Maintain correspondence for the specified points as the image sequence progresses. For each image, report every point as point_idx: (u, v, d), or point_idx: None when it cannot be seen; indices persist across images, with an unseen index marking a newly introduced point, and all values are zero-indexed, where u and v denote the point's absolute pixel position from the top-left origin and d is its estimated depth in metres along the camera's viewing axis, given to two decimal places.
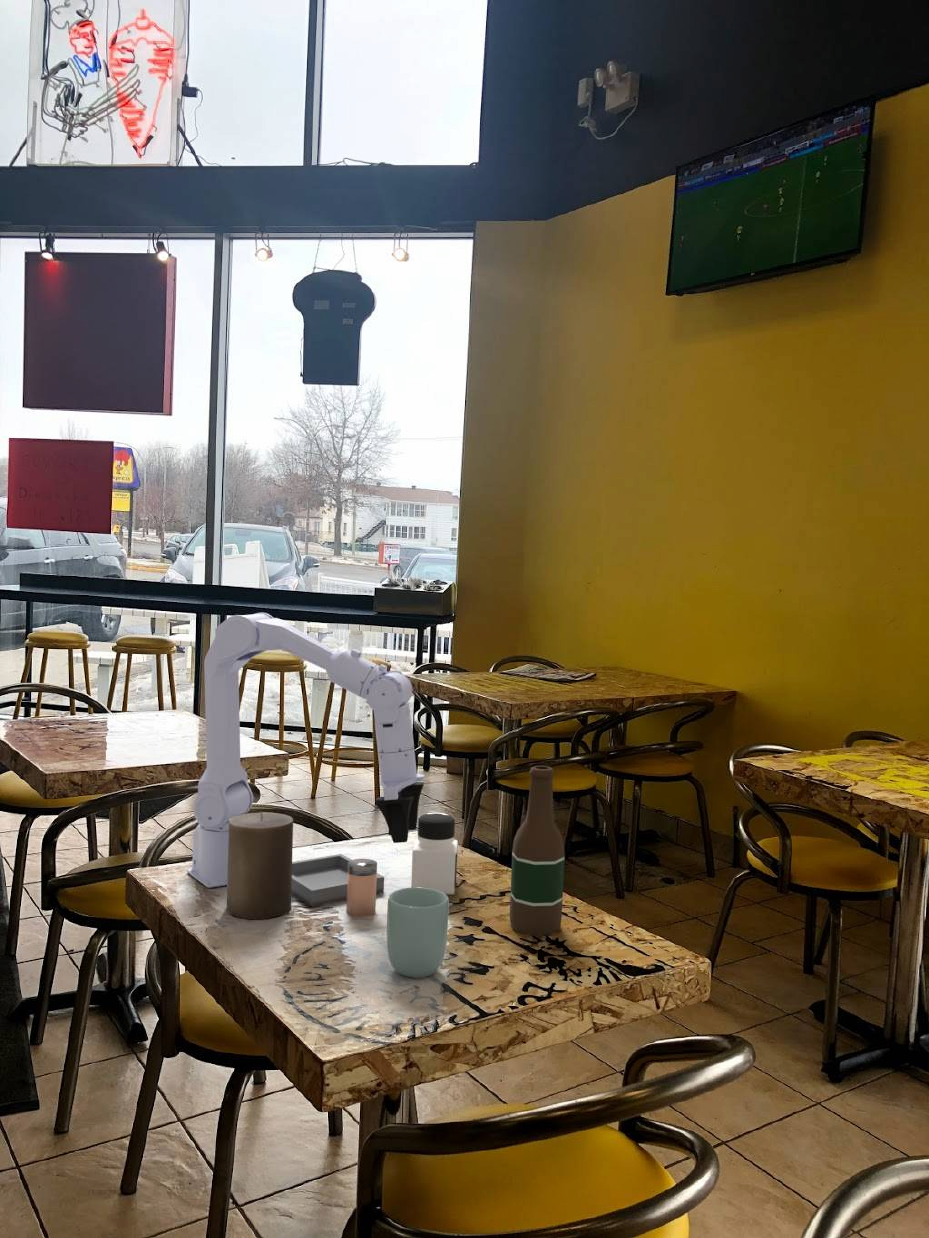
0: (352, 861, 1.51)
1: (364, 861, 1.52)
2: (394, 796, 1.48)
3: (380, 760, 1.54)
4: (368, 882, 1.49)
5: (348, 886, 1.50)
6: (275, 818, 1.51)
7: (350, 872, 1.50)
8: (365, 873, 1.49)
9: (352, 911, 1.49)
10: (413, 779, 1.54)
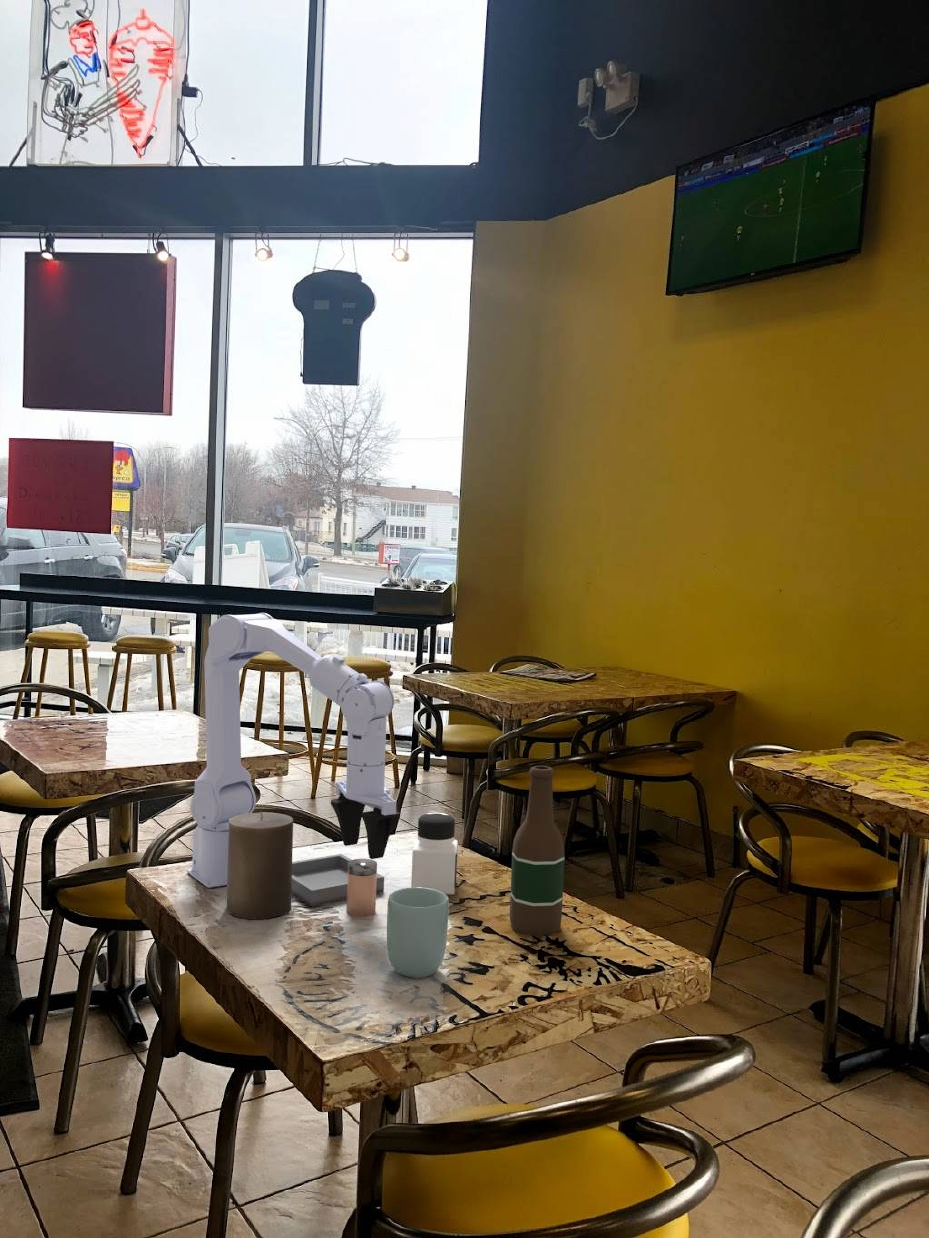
0: (352, 861, 1.51)
1: (364, 861, 1.52)
2: (393, 811, 1.45)
3: (358, 774, 1.47)
4: (368, 882, 1.49)
5: (348, 886, 1.50)
6: (275, 818, 1.51)
7: (350, 872, 1.50)
8: (365, 873, 1.49)
9: (352, 911, 1.49)
10: (385, 792, 1.50)
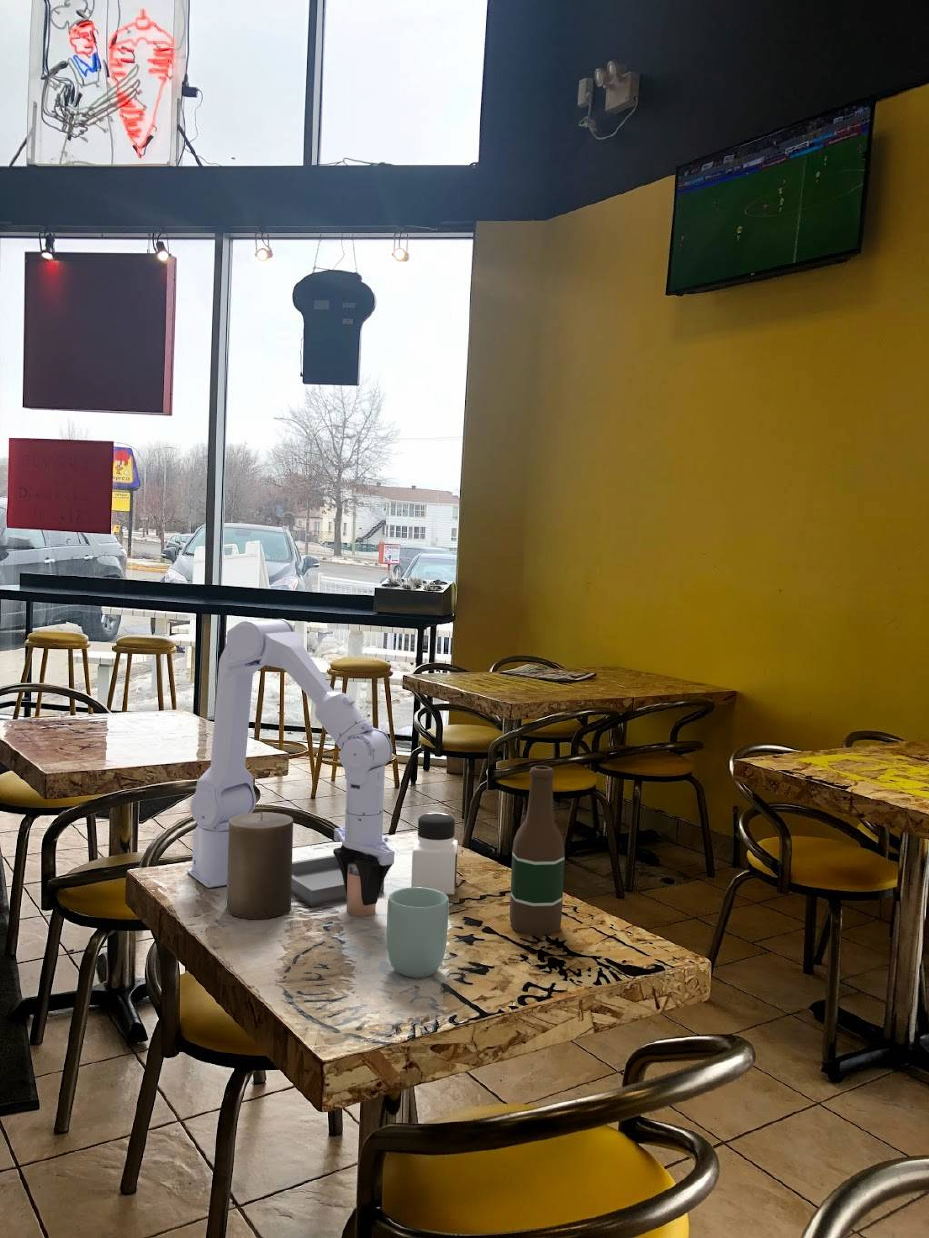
0: (352, 861, 1.51)
1: None
2: (392, 861, 1.45)
3: (357, 823, 1.48)
4: None
5: (348, 886, 1.50)
6: (275, 818, 1.51)
7: (350, 872, 1.50)
8: None
9: (352, 911, 1.49)
10: (383, 840, 1.51)
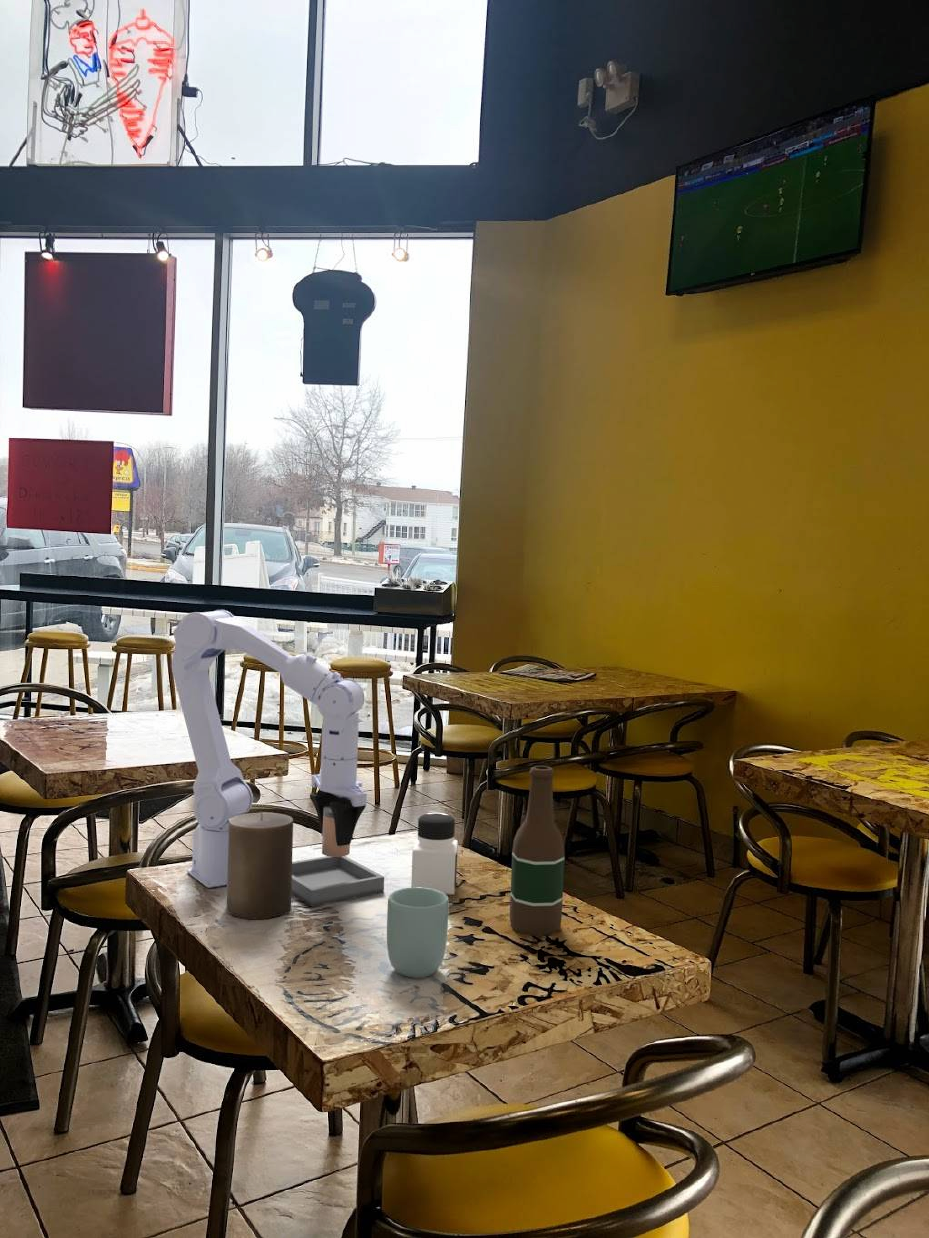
0: (327, 805, 1.59)
1: None
2: (364, 802, 1.53)
3: (331, 767, 1.55)
4: None
5: (323, 828, 1.57)
6: (275, 818, 1.51)
7: (325, 814, 1.57)
8: None
9: (327, 852, 1.57)
10: None
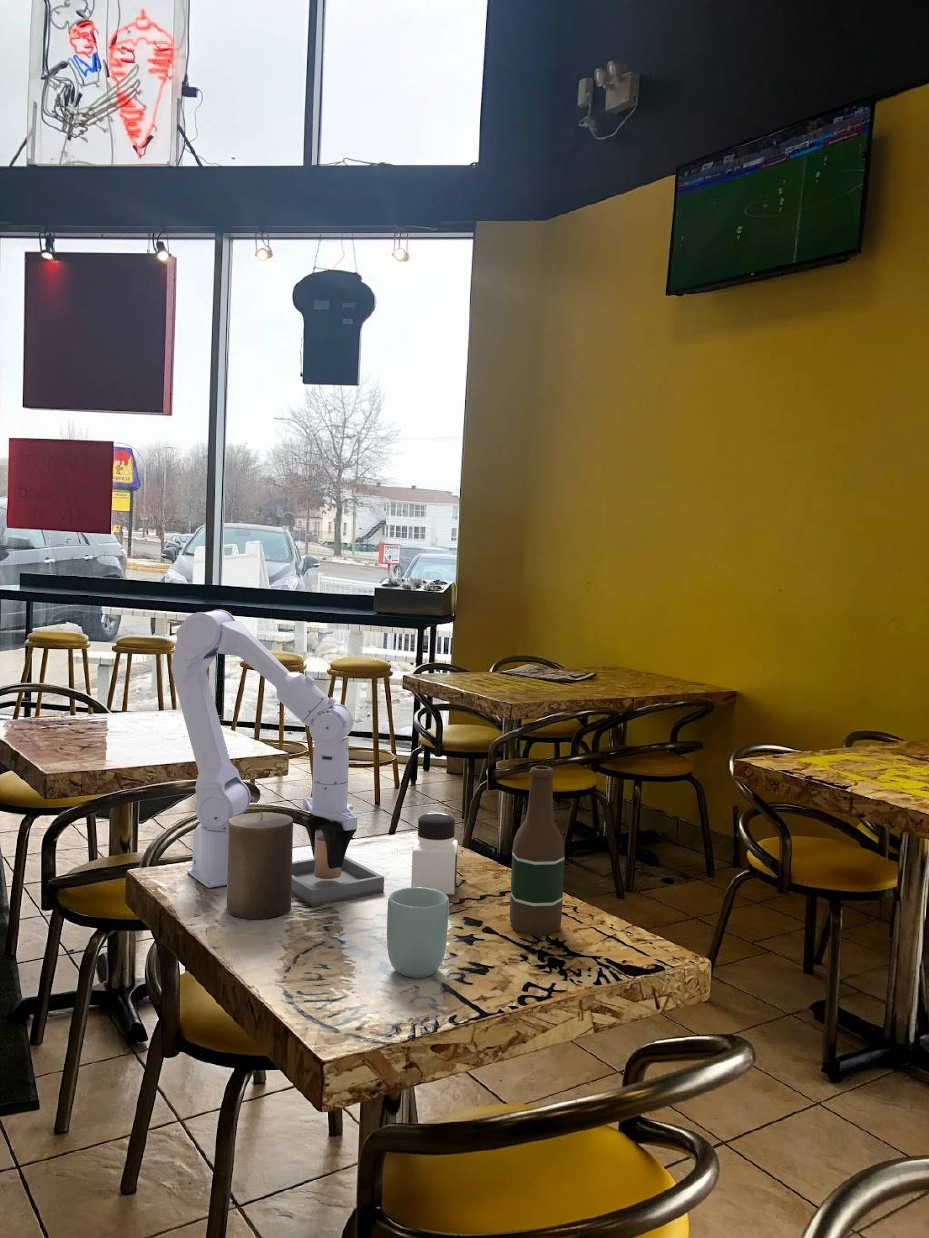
0: (319, 828, 1.62)
1: None
2: (355, 826, 1.56)
3: (323, 791, 1.58)
4: None
5: (315, 851, 1.61)
6: (275, 818, 1.51)
7: (317, 838, 1.60)
8: None
9: (319, 874, 1.60)
10: (348, 808, 1.61)
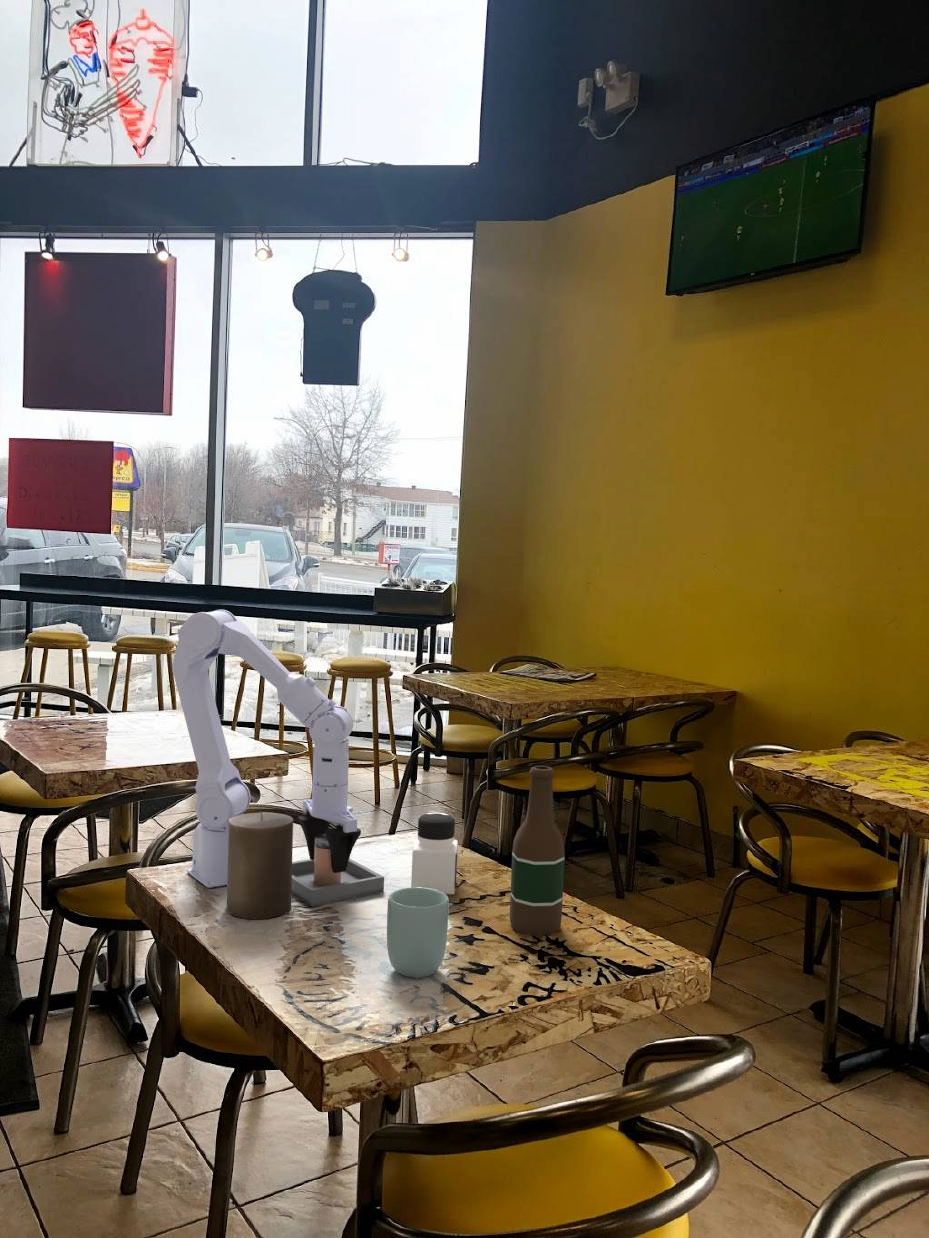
0: (319, 836, 1.62)
1: None
2: (355, 828, 1.56)
3: (322, 793, 1.58)
4: None
5: (315, 859, 1.61)
6: (275, 818, 1.51)
7: (317, 845, 1.60)
8: None
9: (319, 882, 1.60)
10: (348, 810, 1.61)
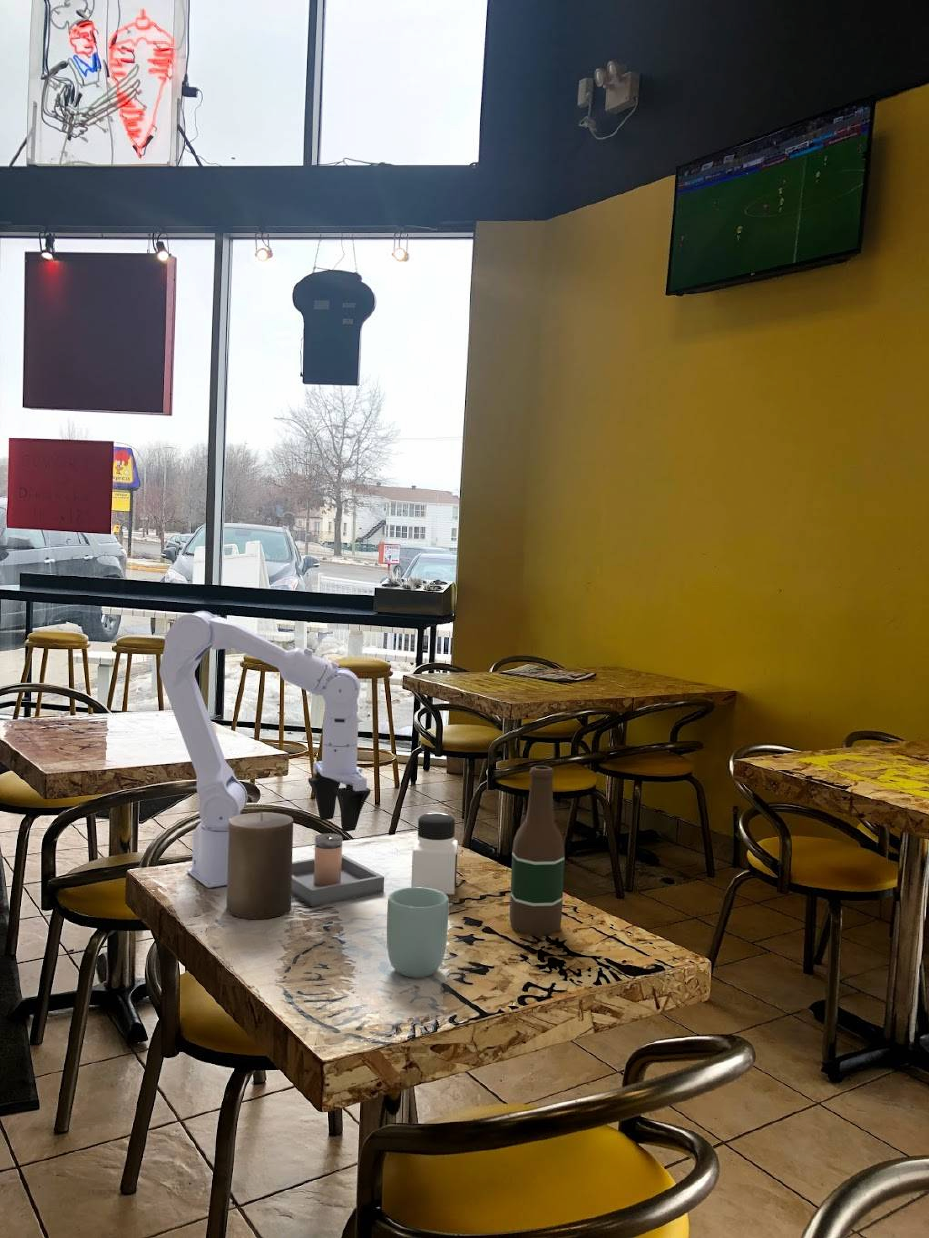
0: (319, 835, 1.62)
1: (330, 835, 1.62)
2: (364, 787, 1.58)
3: (332, 753, 1.61)
4: (333, 854, 1.60)
5: (315, 859, 1.61)
6: (275, 818, 1.51)
7: (317, 845, 1.60)
8: (331, 846, 1.59)
9: (319, 882, 1.60)
10: (358, 771, 1.64)
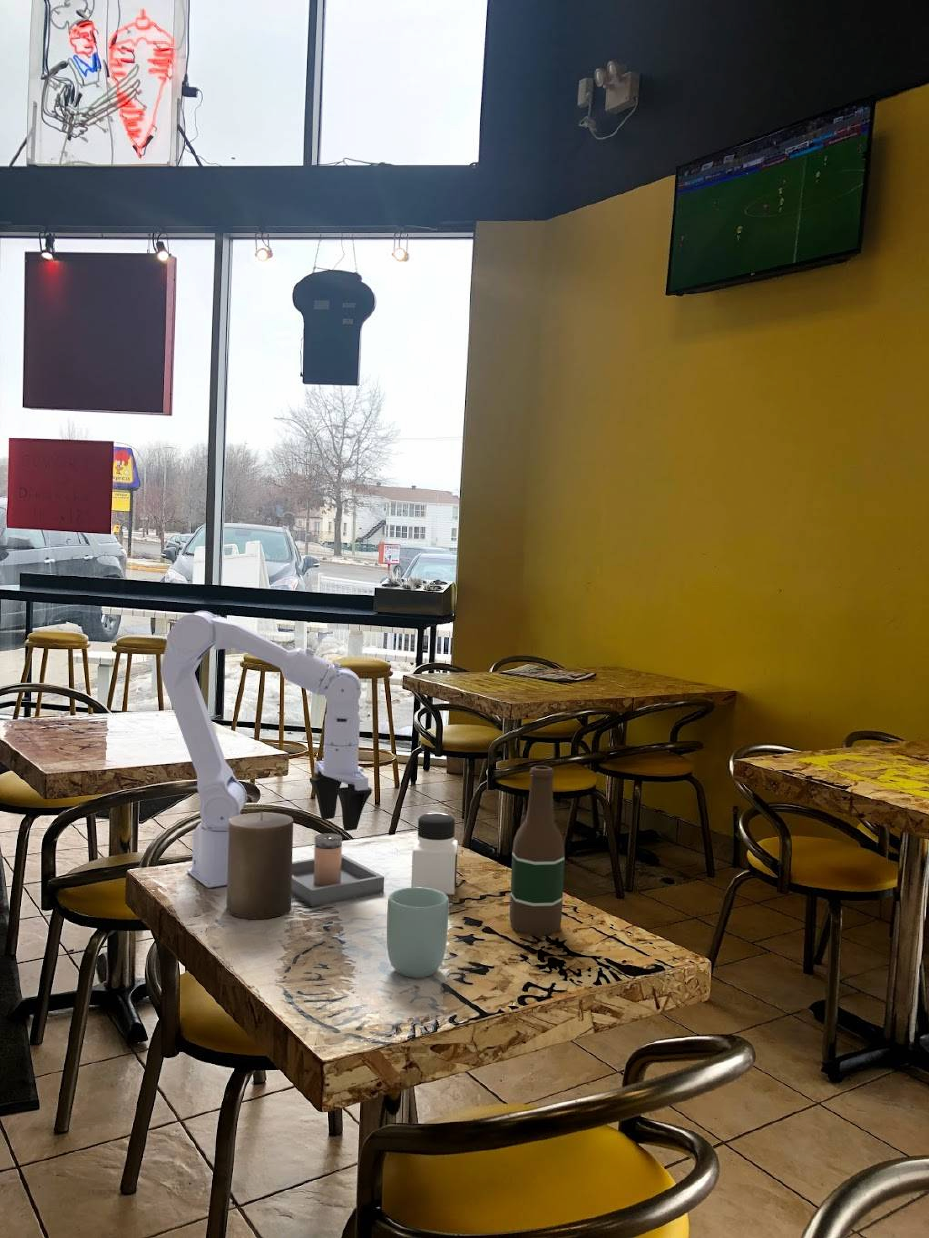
0: (318, 836, 1.62)
1: (329, 835, 1.62)
2: (366, 786, 1.59)
3: (334, 753, 1.61)
4: (333, 854, 1.60)
5: (315, 859, 1.61)
6: (275, 818, 1.51)
7: (317, 846, 1.60)
8: (331, 846, 1.59)
9: (319, 882, 1.60)
10: (359, 770, 1.64)
